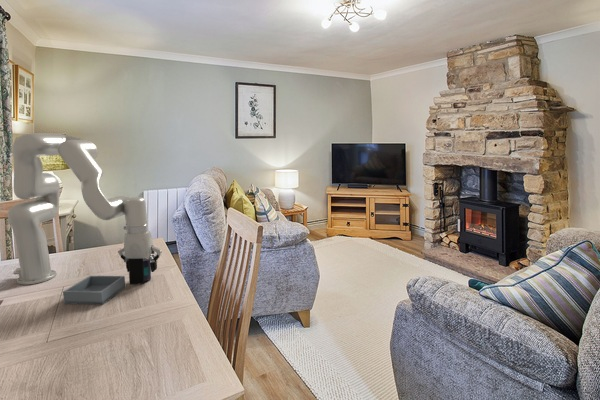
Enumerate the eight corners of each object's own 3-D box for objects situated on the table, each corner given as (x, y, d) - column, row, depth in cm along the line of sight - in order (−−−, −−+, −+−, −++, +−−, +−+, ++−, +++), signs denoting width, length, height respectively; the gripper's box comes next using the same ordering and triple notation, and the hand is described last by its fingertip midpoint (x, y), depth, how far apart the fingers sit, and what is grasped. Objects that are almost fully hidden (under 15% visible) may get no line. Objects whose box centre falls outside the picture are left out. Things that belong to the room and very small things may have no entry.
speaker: (142, 285, 127) (140, 259, 126) (129, 285, 128) (127, 258, 127) (154, 279, 134) (153, 254, 133) (142, 279, 135) (140, 254, 135)
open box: (64, 303, 113) (62, 291, 113) (91, 286, 127) (90, 275, 126) (102, 304, 113) (101, 292, 112) (125, 287, 126) (124, 276, 125)
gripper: (110, 231, 125) (115, 274, 128) (154, 231, 124) (158, 274, 127) (121, 226, 132) (126, 267, 135) (163, 226, 131) (167, 267, 134)
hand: (142, 270), depth 131 cm, fingers open, 9 cm apart
